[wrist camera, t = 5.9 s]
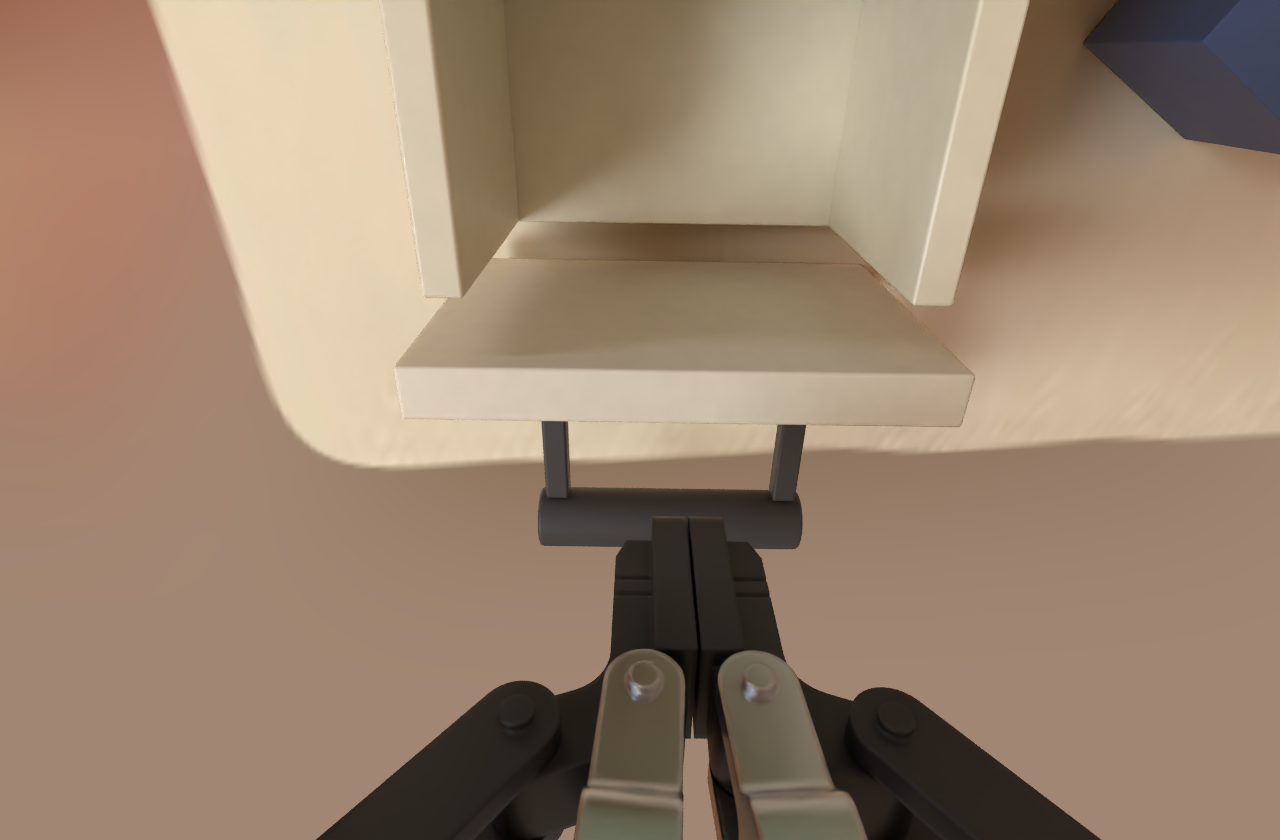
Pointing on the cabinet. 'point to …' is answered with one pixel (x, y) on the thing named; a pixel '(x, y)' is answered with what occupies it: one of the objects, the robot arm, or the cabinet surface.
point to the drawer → (692, 221)
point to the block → (1200, 65)
